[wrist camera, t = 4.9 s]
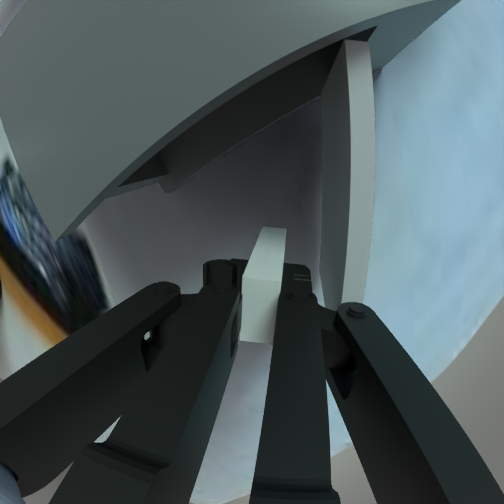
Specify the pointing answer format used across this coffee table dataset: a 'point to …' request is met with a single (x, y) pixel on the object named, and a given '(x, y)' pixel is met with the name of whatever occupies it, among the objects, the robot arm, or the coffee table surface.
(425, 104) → the coffee table surface
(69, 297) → the coffee table surface
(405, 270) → the coffee table surface
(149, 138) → the small grey cabinet
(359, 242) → the cabinet door
